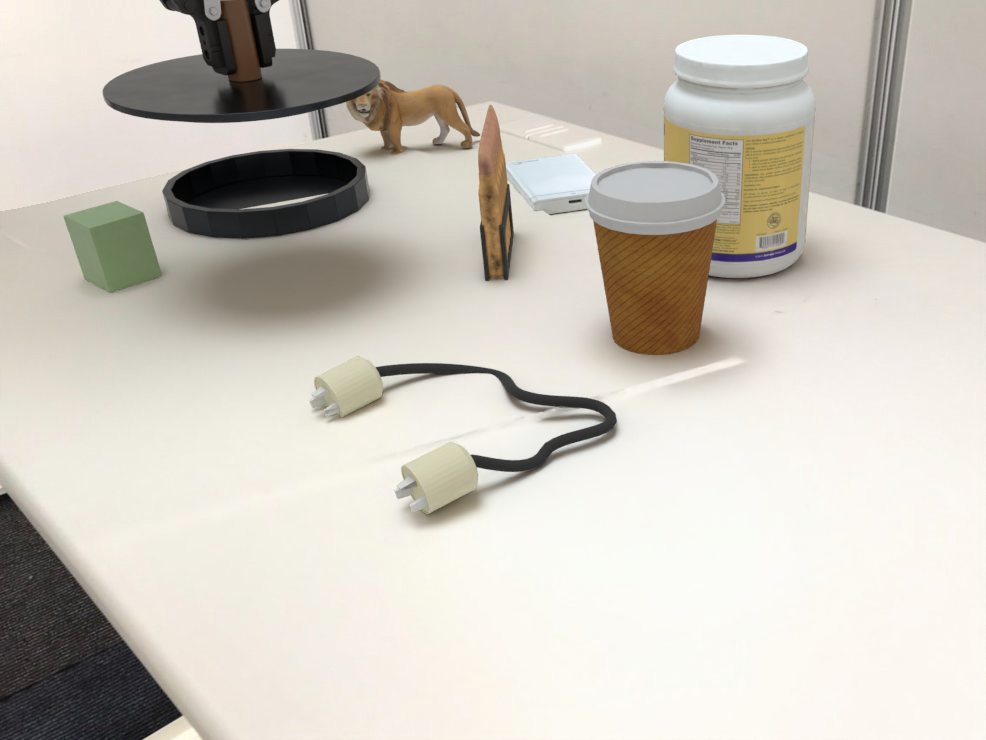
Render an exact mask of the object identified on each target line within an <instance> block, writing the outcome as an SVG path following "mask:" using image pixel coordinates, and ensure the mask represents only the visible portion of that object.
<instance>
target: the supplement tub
mask: <svg viewBox="0 0 986 740" xmlns="http://www.w3.org/2000/svg"><path fill="white" fill-rule="evenodd" d="M808 49H809V48H808V47H807V46H806V45H805V44H803V43H801V42H799V41H797V40H793V39H790V38H786V37H780V36H775V35H774V36H773V35H763V34H721V35H719V34H718V35H711V36H709V35H708V36H704V37H699V38H693V39H690V40H687V41H684V42H682V43H680V44H678V45H677V46H676V47H675V50H674V64H673V66H672V73H673V74H674V75H675V76H676V77H677V80H675V81H674V82H673V83H672V84H671V85H670V86H669V88H668V89H667V91H666V94H665V95H664V100H663V109H662V110H663V161H672V162H679V163H687V164H692V165H696V166H700V167H702V168H705V169H708V170H709V171H711V172H712V173H714V174H715V175H716V176H717V179H718V181H719V185H720V191H721V192H722V193H723V194H724V197H725V204H724V207H723V208H722V209H721V213H720V216H719V217H718V218H717V223H716V230H715V237H714V244H713V250H712V256H711V263H710V270H709V276H708V277H715V278H723V279H749V278H759V277H766V276H770V275H774V274H776V273H779V272H782V271H784V270H786V269H788V268H789V267H790V266H792V265H793V264H795V263H796V262H797V261H798V260H799V258H800V257H801V255H802V254H803V251H804V248H805V245H806V239H807V238H806V236H807V225H808V224H807V222H808V209H809V198H810V197H809V196H810V186H811V185H810V183H811V171H812V160H813V159H812V158H813V146H814V134H815V133H814V132H815V122H816V121H815V119H816V112H817V107H816V106H817V105H816V104H817V103H816V97H815V94H814V92H813V89H812V87H810V86H809V84H808V83H807V82H806V81H805V80H804V79H805V77H807V76H808V74H809V71H810V66H809V65H808V61H809V60H808V59H809V58H808V57H809V50H808Z"/></svg>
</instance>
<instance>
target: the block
mask: <svg viewBox="0 0 986 740" xmlns="http://www.w3.org/2000/svg"><path fill="white" fill-rule="evenodd" d="M63 219H64V220H63V221H64V222H65V225H66V228H67V231H68V234H69V237H70V239H71V244H72V247H73V248H74V252H75V255H76V258H77V261H78V264H79V266H80V269H81V272H82V275H83V278H84V280H85V281H87V282H89V283H91V284H92V285H94V286H95V287H98V288H100V289H102V290H103V291H104V292H105V291H106V292H107V293H109V294H112V293H116V292H118V291H121V290H124V289H127V288H131V287H133V286H136V285H139V284H142V283H145V282H148V281H151V280H155V279H157V278H160V277H163V274H162V269H161V267H160V264H159V260H158V257H157V254H156V250H155V247H154V244H153V240H152V236H151V234H150V233H151V232H150V230H149V226H148V223H147V219H146V216H145V213H144V212H143V211H141V210H139V209H136V208H135V207H132V206H129V205H127V204H126V203H123V202H120V201H119V200H115V201H111V202H106V203H104V204H101V205H96V206H93V207H90V208H86V209H82V210H79V211H76V212H75V211H74V212H71V213H68V214H64V215H63Z"/></svg>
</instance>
